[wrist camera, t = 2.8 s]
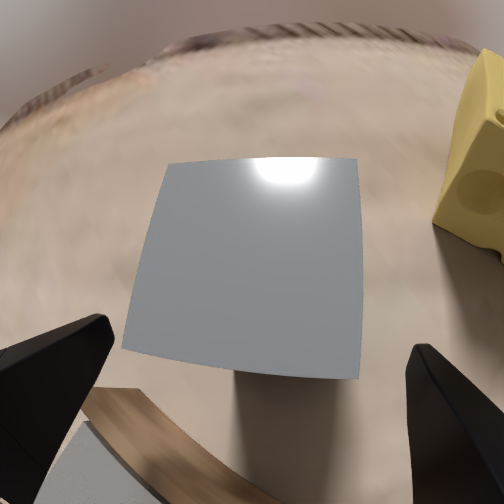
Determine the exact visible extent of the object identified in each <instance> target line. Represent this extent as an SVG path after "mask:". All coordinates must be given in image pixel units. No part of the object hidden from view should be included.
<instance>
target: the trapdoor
mask: <svg viewBox="0 0 504 504" xmlns="http://www.w3.org/2000/svg"><path fill="white" fill-rule="evenodd" d="M34 504H171V503H170V502H169V501H167V500H166V499H165V498H164V497H163V496H162V495H160V494H159V493H158V492H157V491H156V490H155V489H154V488H152V487H151V486H150V485H149V484H148V483H147V482H146V481H145V480H144V479H143V478H142V477H141V476H140V475H139V474H138V473H137V472H136V471H135V470H134V469H133V468H132V467H131V466H130V465H129V464H128V463H127V462H126V461H125V460H124V459H123V458H122V457H121V456H120V455H119V454H118V453H117V452H116V451H115V450H114V448H113V447H112V446H111V445H110V444H109V443H108V442H107V441H106V439H105V438H104V437H103V436H102V435H101V434H100V432H99V431H98V430H97V429H96V428H95V426H94V425H93V424H92V423H91V421H83V423H82V424H81V426H80V427H79V429H78V430H77V432H76V433H75V435H74V436H73V438H72V439H71V441H70V442H69V444H68V445H67V447H66V448H65V450H64V451H63V453H62V454H61V456H60V457H59V459H58V460H57V462H56V464H55V465H54V467H53V468H52V470H51V471H50V473H49V474H48V476H47V478H46V479H45V481H44V482H43V484H42V486H41V488H40V490H39V492H38V495H37V497H36V499H35V501H34Z"/></svg>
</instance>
